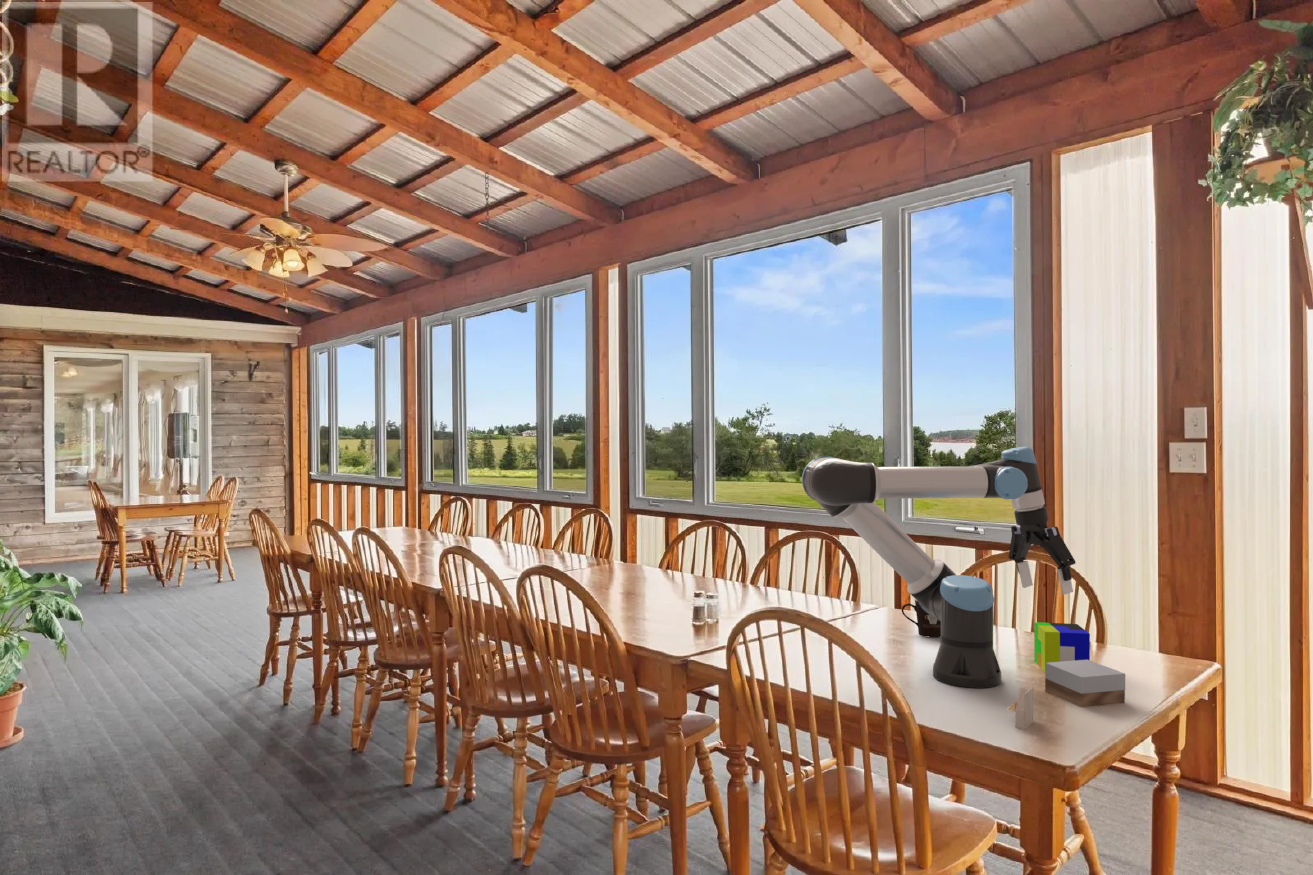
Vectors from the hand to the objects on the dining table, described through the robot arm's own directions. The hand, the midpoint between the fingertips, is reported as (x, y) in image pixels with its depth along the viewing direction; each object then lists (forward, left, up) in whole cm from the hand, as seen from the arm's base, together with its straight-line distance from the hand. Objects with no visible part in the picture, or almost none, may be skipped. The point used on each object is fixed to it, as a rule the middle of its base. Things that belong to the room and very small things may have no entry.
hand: (1047, 589), depth 206 cm
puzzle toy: (0, -5, -19) cm, 19 cm away
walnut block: (-11, -25, -19) cm, 33 cm away
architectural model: (-35, -36, -19) cm, 53 cm away
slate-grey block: (-11, -25, -15) cm, 31 cm away
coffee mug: (-14, +33, -19) cm, 40 cm away
